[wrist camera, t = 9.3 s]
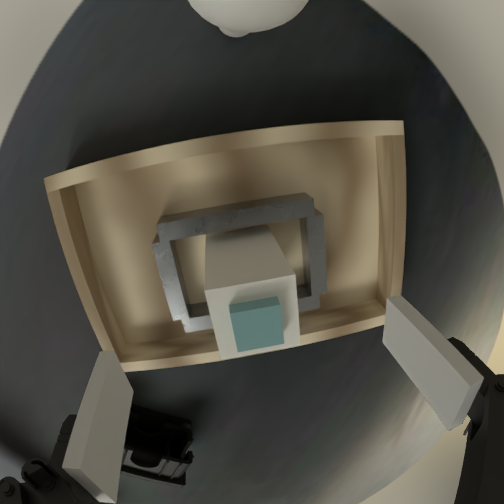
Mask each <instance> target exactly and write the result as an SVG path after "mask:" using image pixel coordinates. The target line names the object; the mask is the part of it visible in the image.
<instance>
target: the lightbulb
mask: <svg viewBox="0 0 504 504" xmlns="http://www.w3.org/2000/svg"><path fill="white" fill-rule="evenodd" d="M188 1H189V3H190V5H191V6H192V8H193V9H194V10H195V11H196V12H197V13H198V14H199V15H200V16H201V17H202V18H204V19H205V20H207V21H208V22H210V23H211V24H213V25H216V26H218V27H219V29H220V30H221V31H222V32H223V33H224V34H225V35H228V36H230V37H242V36H245V35H247V34H249V33H250V32H260V31H265V30H269V29H272V28H275V27H277V26H280V25H283V24H284V23H286V22H288V21H290V20H291V19H293V18H294V17H295V16H296V15H297V14H298V13H299V12H300V11H301V10H302V9H303V8H304V6H305V5H306V4H307V2H308V1H309V0H188Z"/></svg>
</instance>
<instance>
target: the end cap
mask: <svg viewBox="0 0 504 504" xmlns="http://www.w3.org/2000/svg"><path fill="white" fill-rule="evenodd" d="M190 428H191V422H190V421H189V420H186V419H182V418H178V417H175V416H171V415H167V414H164V413H160V412H157V411H153V410H150V409H146V408H143V407H140V406H137V405H134V404H131V408H130V413H129V419H128V425H127V431H126V437H125V443H124V449H123V456H122V463H121V470H120V473H121V474H124V475H128V476H132V477H135V478H139V479H143V480H147V481H152V482H156V483H161V484H165V485H170V486H175V487H183V486H184V485H185V484H186V470H187V468H188V467H189V465H190V464H191V463H192V459H193V458H194V456H193V454H192V451H188V452H187V454H186V451H187V449H188V448H189V446H190V445H191V443H192V442H193V440H194V439H193V437H192V431H191V430H190Z"/></svg>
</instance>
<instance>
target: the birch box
mask: <svg viewBox="0 0 504 504" xmlns="http://www.w3.org/2000/svg"><path fill="white" fill-rule="evenodd" d="M44 183H45V187H46V191H47V196H48V200H49V203H50V207H51V211H52V215H53V218H54V222H55V226H56V229H57V232H58V236H59V239H60V242H61V245H62V249H63V252H64V255H65V258H66V261H67V264H68V267H69V269H70V272H71V275H72V278H73V281H74V283H75V286H76V289H77V291H78V294H79V296H80V299H81V301H82V304H83V306H84V309H85V311H86V314H87V316H88V318H89V321H90V323H91V325H92V328H93V330H94V332H95V334H96V337H97V339H98V341H99V343H100V345H101V347H102V349H103V351H112V350H114V352H115V354H116V356H117V358H118V360H119V363H120V365H121V367H122V369H123V371H124V372H131V371H142V370H152V369H161V368H170V367H178V366H186V365H194V364H201V363H208V362H215V361H221V356H220V352H219V349H218V345H217V341H216V337H215V333H214V329H213V328H212V329H206V330H200V331H193V332H187V333H185V330H184V327H183V324H182V320H175V321H173V318H172V315H171V312H170V308H169V305H168V302H167V298H166V295H165V291H164V288H163V284H162V281H161V277H160V274H159V270H158V266H157V263H156V259H155V255H154V251H153V248H152V242H153V240H154V238H155V236H156V234H158V231H157V226H156V224H157V222H158V220H159V219H160V217H161V216H165V215H171V214H176V213H181V212H187V211H192V210H197V209H203V208H209V207H214V206H220V205H226V204H232V203H238V202H244V201H250V200H256V199H263V198H269V197H276V196H282V195H289V194H296V193H303V192H305V193H307V194H308V195H310V196H311V197H313V198H314V207H315V208H316V209H317V210H318V211H320V212H321V213H322V214H323V215H324V229H325V248H326V272H327V293H325V294H320V308H318V309H314V310H309V311H304V312H299V313H298V314H299V329H300V344H301V345H305V344H310V343H314V342H318V341H323V340H327V339H331V338H335V337H339V336H343V335H347V334H351V333H355V332H359V331H362V330H366V329H370V328H373V327H377V326H380V325H384V324H385V314H386V303H387V298H389V297H392V296H396V295H399V294H400V295H401V290H402V279H403V267H404V253H405V233H406V159H405V140H404V126H403V121H396V120H365V121H340V122H324V123H310V124H298V125H288V126H278V127H269V128H261V129H253V130H246V131H239V132H232V133H225V134H219V135H213V136H207V137H201V138H196V139H190V140H185V141H180V142H175V143H170V144H165V145H160V146H156V147H151V148H147V149H142V150H138V151H134V152H130V153H126V154H122V155H118V156H114V157H110V158H107V159H103V160H99V161H96V162H92V163H89V164H85V165H82V166H78V167H75V168H72V169H68V170H65V171H62V172H60V173H57V174H54V175H51V176H48V177H46V178H44ZM261 226H268V228H269V229H270V231H271V233H272V235H273V236H274V238H275V240H276V241H277V243H278V245H279V247H280V248H281V250H282V252H283V254H284V255H285V257H286V259H287V261H288V262H289V264H290V266H291V268H292V269H293V271H294V273H295V276H296V285H301V284H304V270H303V257H302V244H301V232H300V221H299V219H292V220H286V221H280V222H274V223H268V224H262V225H256V226H250V227H244V228H238V229H232V230H226V231H221V232H215V233H209V234H203V235H198V236H192V237H187V238H181V239H176V240H175V244H176V248H177V253H178V257H179V261H180V265H181V269H182V273H183V277H184V281H185V285H186V289H187V293H188V297H189V301H190V304H195V303H201V302H207V300H206V296H205V292H204V279H205V241H206V236H209V235H214V234H220V233H226V232H232V231H237V230H243V229H249V228H255V227H261ZM301 345H297V346H301ZM293 347H296V346H293ZM288 348H291V347H288ZM283 349H287V348H283ZM278 350H282V349H278ZM273 351H277V350H273ZM268 352H272V351H268ZM263 353H267V352H263ZM257 354H261V353H257ZM252 355H256V354H252ZM246 356H251V355H246ZM241 357H245V356H241ZM235 358H239V357H235ZM229 359H233V358H229ZM222 360H227V359H222Z"/></svg>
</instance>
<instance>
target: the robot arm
mask: <svg viewBox="0 0 504 504" xmlns="http://www.w3.org/2000/svg"><path fill="white" fill-rule="evenodd" d="M383 343H384V345H385V346H386V347H387V349H388V350H389V351H390V353H391V354H392V355H393V356H394V358H395V359H396V360H397V362H398V363H399V364H400V366H401V367H402V368H403V369H404V371H405V372H406V373H407V375H408V376H409V377H410V379H411V380H412V381H413V383H414V384H415V385H416V387H417V388H418V389H419V391H420V392H421V393H422V395H423V396H424V398H425V399H426V400H427V402H428V403H429V404H430V406H431V407H432V408H433V410H434V411H435V413H436V414H437V415H438V417H439V418H440V420H441V421H442V422H443V424H444V425H445V427H446V428H447V429H448V431H450V430H452V429H453V428H455V427H457V426H459V425H461V424H463V422H464V420H465V417H466V416H467V415H468V416H469V417H470V419H471V420H470V422H469V424H468V426H467V428H466V430H465V431H464V434H463V435H466V433H467V431H468V436H467V443H466V450H465V456H464V461H463V467H462V472H461V477H460V482H459V486H458V490H457V494H456V499H455V502H454V504H504V374H498V375H495V374H494V373H493V372H492V371H491V370H490V369H489V368H488V367H487V366H486V365H485V364H484V363H483V362H482V361H481V360H480V359H479V358H478V357H477V356H475V354H474V353H473V352H472V351H471V350H469V348H468V347H467V346H466V345H465V344H464V343H463V342H462V341H460V340H458V339H456V338H454V337H452V338H449V339H446V338H445V337H444V336H443V335H442V334H441V333H440V332H439V331H438V330H437V329H436V328H435V327H434V326H433V325H432V324H431V323H430V322H429V321H428V320H426V319H425V318H424V317H423V316H422V315H421V314H420V313H419V312H418V311H417V310H416V309H415V308H414V307H413V306H412V305H411V304H410V303H409V302H407V301H406V300H405V299H404V298H403V297H402V296H401V295H400V294H399V295H396V296H392V297H389V298H387V303H386V314H385V324H384V333H383ZM133 392H134V391H133V389H132V387H131V385H130V383H129V381H128V379H127V377H126V375H125V373H124V371H123V369H122V367H121V365H120V363H119V360H118V358H117V356H116V354H115V352H114V350H112V351H102V352H99V355H98V358H97V360H96V363H95V366H94V368H93V371H92V374H91V376H90V379H89V382H88V385H87V388H86V390H85V393H84V396H83V399H82V402H81V405H80V408H79V411H78V414H77V415H69V416H68V417H67V418H66V420H65V421H64V422H63V424H62V427H61V430H60V435H59V436H58V439H57V442H56V445H55V448H54V451H53V455H52V458H51V461H50V465H49V464H48V463H47V462H46V461H45V460H44V459H42V458H32V459H30V460H28V461H27V462H26V463H25V464H24V466H23V467H22V471H21V475H22V479H23V480H24V481H26V482H25V483H20V482H18V481H17V480H16V479H15V478H13V477H5V478H3V479H1V480H0V504H113V503H117V494H118V485H119V478H120V470H121V463H122V456H123V449H124V443H125V437H126V431H127V425H128V419H129V413H130V408H131V403H132V397H133Z"/></svg>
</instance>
